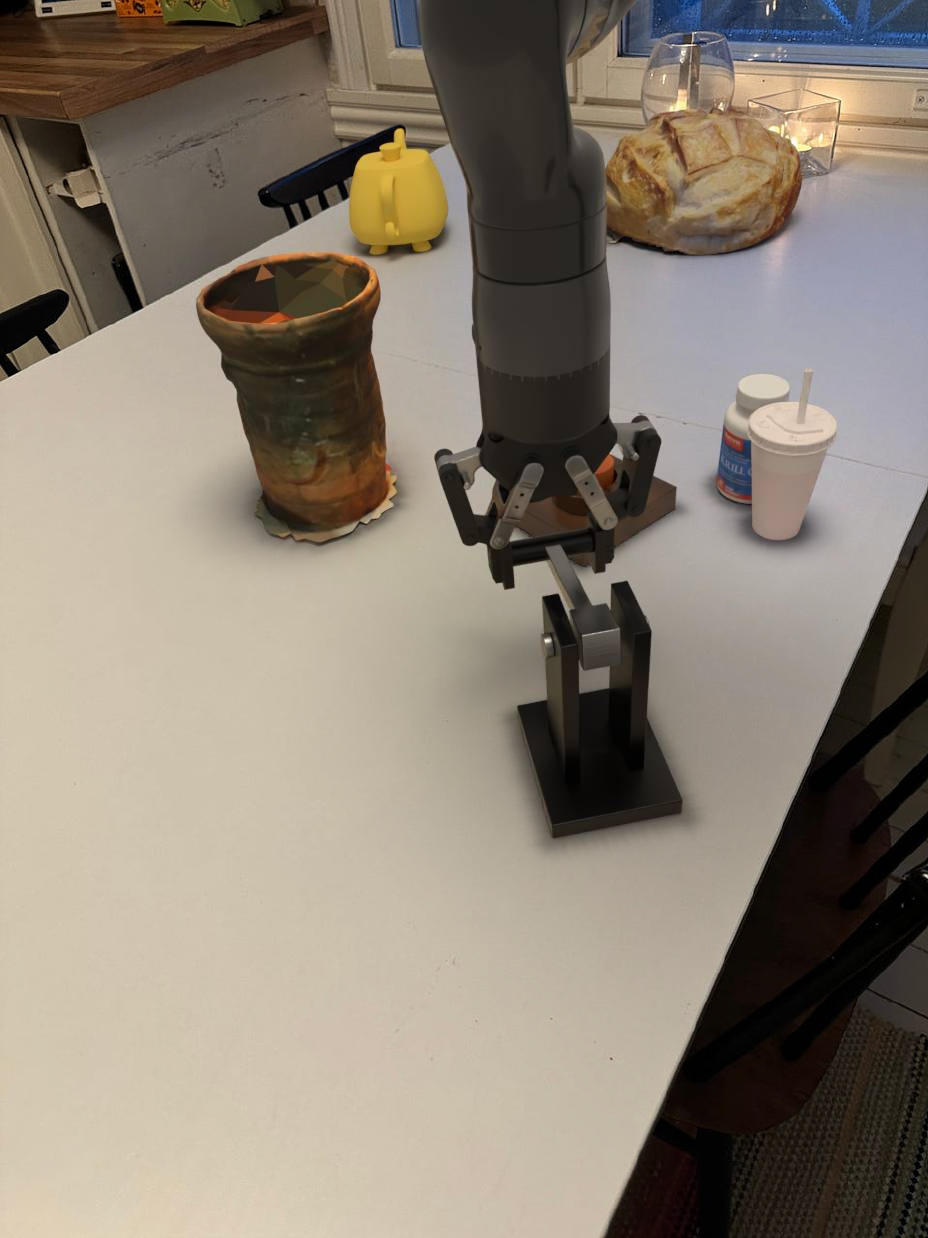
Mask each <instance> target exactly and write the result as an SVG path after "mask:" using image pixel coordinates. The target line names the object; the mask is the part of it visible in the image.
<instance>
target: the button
mask: <svg viewBox="0 0 928 1238" xmlns="http://www.w3.org/2000/svg"><path fill="white" fill-rule="evenodd" d="M609 454H610V453H609ZM609 454H608V456H607V457H606V459H605V460H604V461H603V463H602V464H601V465H600V467H599V468H598V470H597V471H596V472H595V474H594V475H595V477H596V479H597V480H598V482H599V484H600V486H601V488H602V489H603V488H606V487H608V486H610V485H611V484H612V483H613V480H614V460H613V458H612V456H611V455H612V454H611V455H609Z"/></svg>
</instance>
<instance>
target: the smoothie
mask: <svg viewBox="0 0 928 1238" xmlns="http://www.w3.org/2000/svg"><path fill="white" fill-rule="evenodd" d="M813 372H814V370H813V369H812V368H805V369H804V373H803V379H802V384H801V385H802V386H801V391H800V395H799V401H788V402H778V403H772V404H769V405H765V406H763V407H761V408H759V409H757V410H756V411H755V412H753V414H752V415H751V416H750V419H749V425H748V428H747V434H748V437H749V439H750V440H751V461H752V504H751V515H752V516H751V525H752V526H751V527H752V529H753V531H754V532H755V534H757V535H758V536H759V537H762V538H764V539H765V540H769V541H770V540H771V541H786V540H791V539H792V538H794V537H797V535H798V534H799V532H800V530H801V526H802V524H803V521H804V518H805V516H806V512H807V510H808V508H809V504H810V502H811V498H812V495H813V493H814V489H815V487H816V484H817V481H818V478H819V475H820V472H821V470H822V467H823V464H824V462H825V458H826V456H827V454H828V453H827V452H828V449H829V448H830V447H832V445H833V444H834V443H835V441H836V439H837V431H838V422H837V419H836V418H835V417H834V415H832V413H830V412H829V411H827V410H826V409H824V408H822V407H820V406H817V405H814V404H810V403H808V401H809V397H810V392H811V391H810V390H811V385H812V378H813Z"/></svg>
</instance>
